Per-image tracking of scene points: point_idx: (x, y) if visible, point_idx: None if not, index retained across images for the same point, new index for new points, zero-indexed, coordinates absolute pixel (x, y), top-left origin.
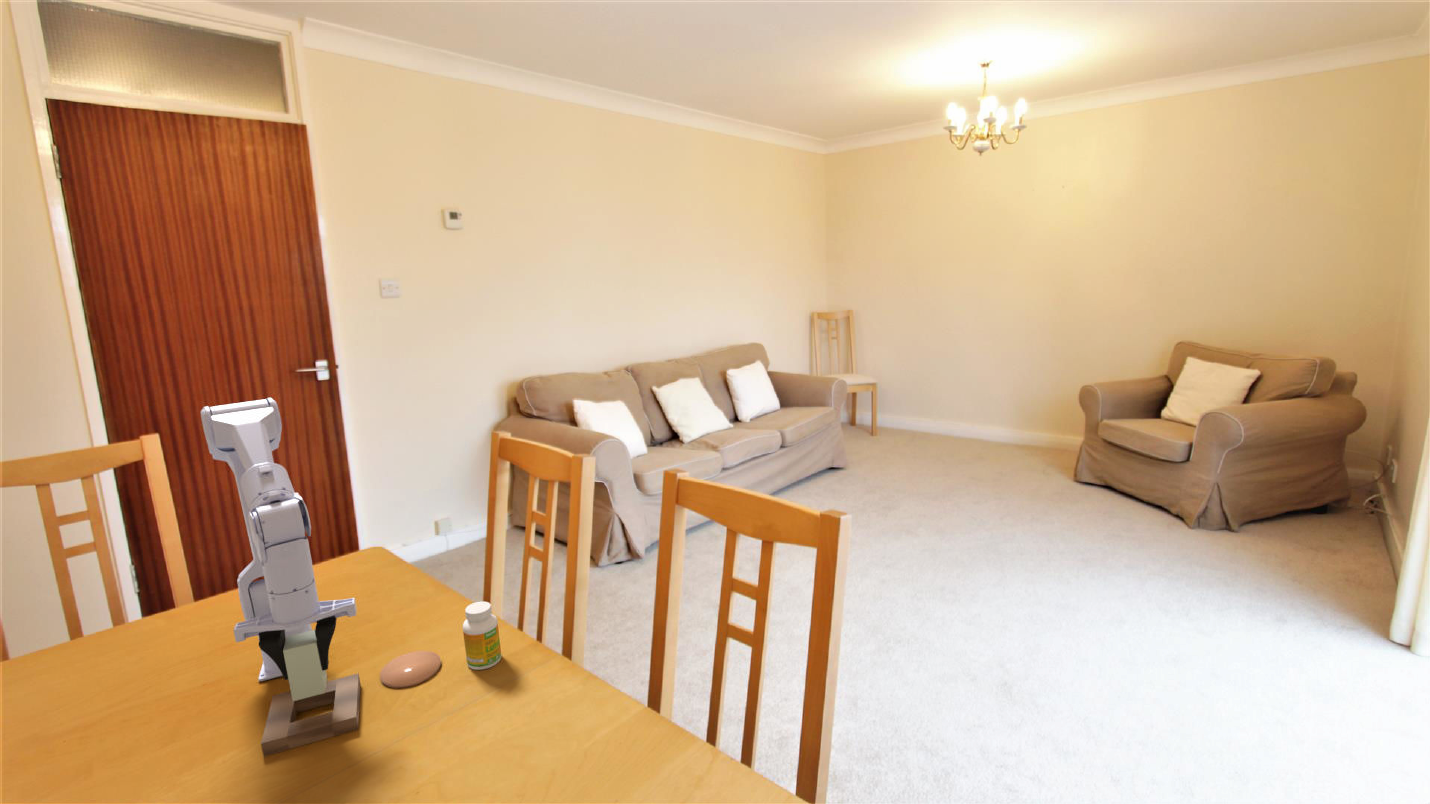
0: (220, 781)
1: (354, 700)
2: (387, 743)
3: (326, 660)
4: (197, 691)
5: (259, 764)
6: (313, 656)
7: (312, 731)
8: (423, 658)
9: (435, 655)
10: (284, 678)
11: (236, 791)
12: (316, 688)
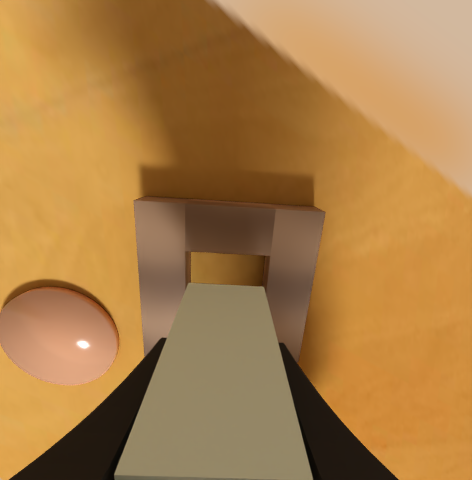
0: (386, 171)
1: (143, 266)
2: (78, 106)
3: (141, 361)
4: (394, 435)
5: (321, 185)
6: (170, 387)
7: (226, 205)
8: (34, 356)
9: (11, 355)
10: (286, 347)
11: (363, 118)
12: (204, 294)
